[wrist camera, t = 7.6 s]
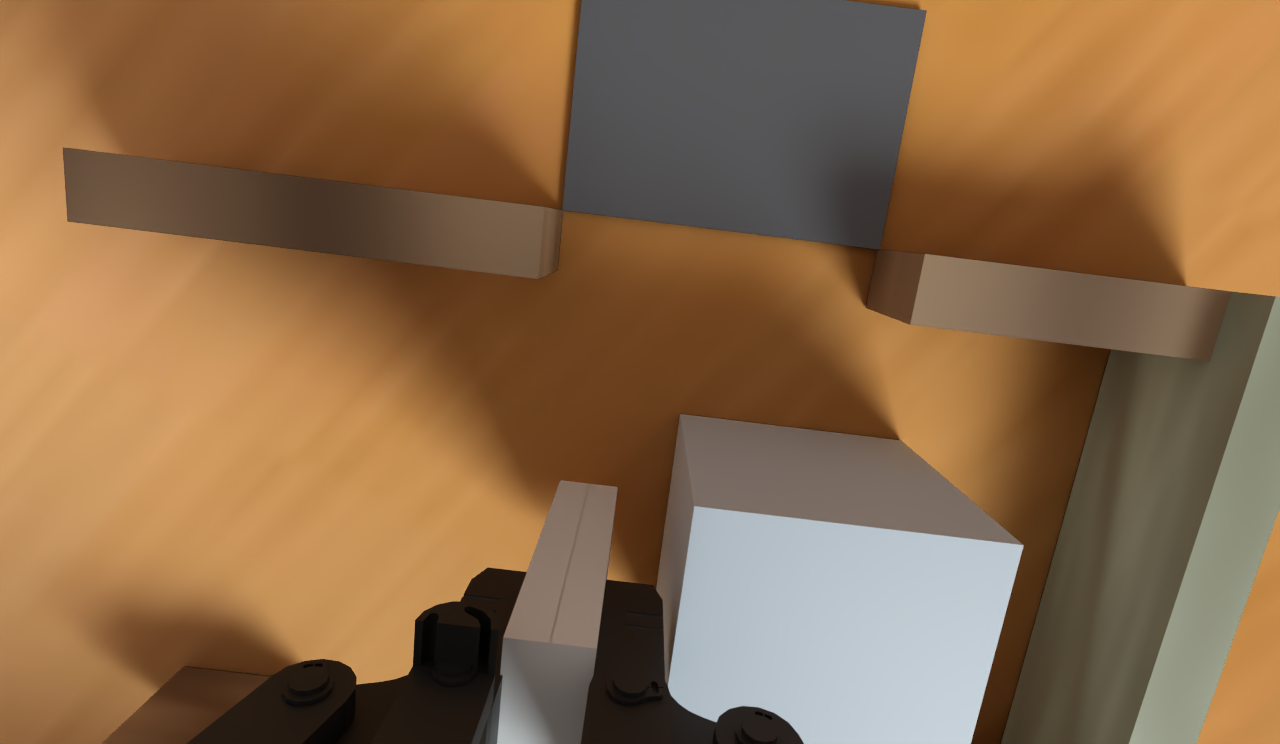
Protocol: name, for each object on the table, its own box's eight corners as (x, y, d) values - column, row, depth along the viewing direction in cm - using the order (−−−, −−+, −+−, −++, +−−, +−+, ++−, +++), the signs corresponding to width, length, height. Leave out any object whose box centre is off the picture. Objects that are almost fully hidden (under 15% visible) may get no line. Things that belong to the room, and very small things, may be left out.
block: (652, 613, 19) (653, 784, 13) (680, 414, 18) (694, 505, 12) (858, 636, 19) (951, 818, 13) (901, 440, 18) (1023, 545, 12)
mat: (563, 210, 17) (562, 210, 16) (585, -30, 15) (584, -33, 15) (877, 249, 17) (879, 249, 17) (923, 13, 16) (926, 10, 15)
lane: (185, 709, 20) (71, 827, 16) (167, 161, 17) (17, 140, 13) (1032, 808, 20) (1124, 947, 16) (1188, 287, 17) (1350, 305, 13)
